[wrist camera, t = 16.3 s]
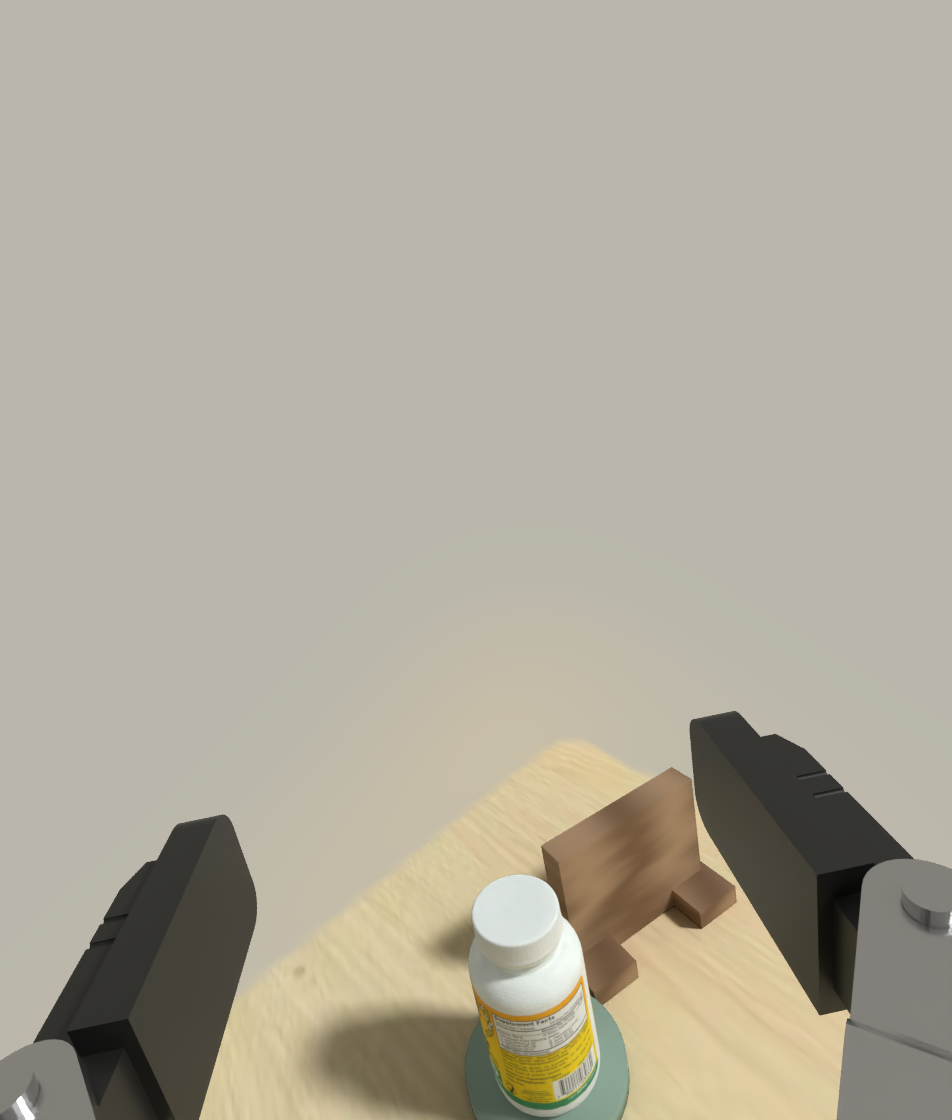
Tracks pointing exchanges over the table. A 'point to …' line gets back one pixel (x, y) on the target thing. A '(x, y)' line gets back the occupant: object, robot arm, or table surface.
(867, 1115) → the robot arm
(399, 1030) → the table surface
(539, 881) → the supplement bottle
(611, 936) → the divider
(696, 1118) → the table surface
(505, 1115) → the pad
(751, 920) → the table surface
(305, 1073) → the table surface
